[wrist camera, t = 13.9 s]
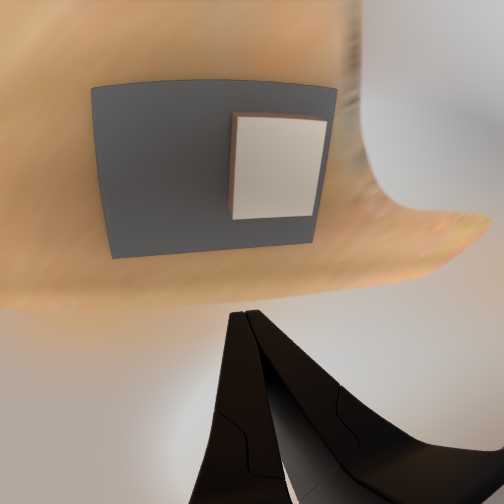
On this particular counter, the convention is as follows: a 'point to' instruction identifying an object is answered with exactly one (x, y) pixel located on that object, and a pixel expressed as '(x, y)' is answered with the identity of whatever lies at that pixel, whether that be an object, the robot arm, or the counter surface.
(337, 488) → the robot arm
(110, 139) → the mat
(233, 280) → the counter surface
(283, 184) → the tile
